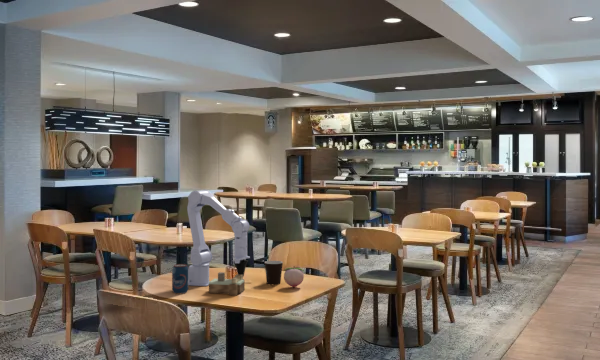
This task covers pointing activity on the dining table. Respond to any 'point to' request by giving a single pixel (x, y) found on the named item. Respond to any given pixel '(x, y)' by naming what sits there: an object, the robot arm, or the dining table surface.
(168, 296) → the dining table surface
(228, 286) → the toolbox
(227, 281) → the lid
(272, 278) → the coffee mug
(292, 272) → the decorative fruit
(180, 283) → the soda can
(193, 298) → the dining table surface
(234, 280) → the key
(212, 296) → the dining table surface
